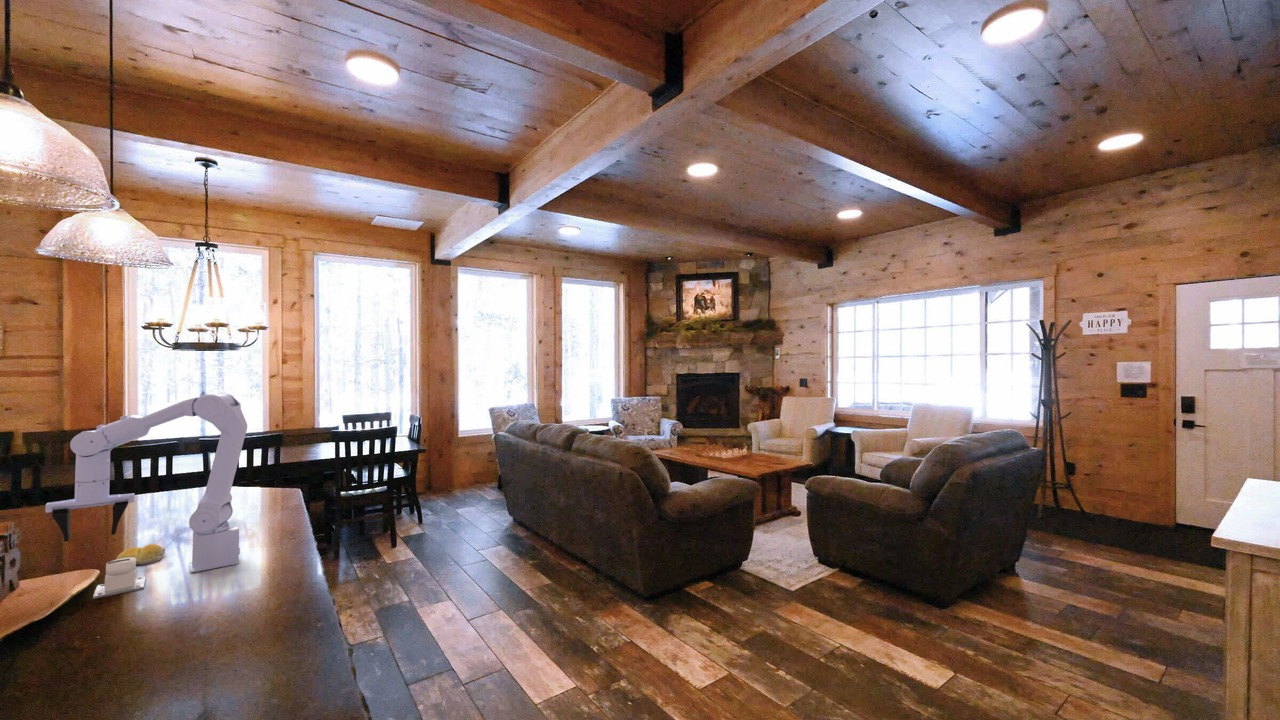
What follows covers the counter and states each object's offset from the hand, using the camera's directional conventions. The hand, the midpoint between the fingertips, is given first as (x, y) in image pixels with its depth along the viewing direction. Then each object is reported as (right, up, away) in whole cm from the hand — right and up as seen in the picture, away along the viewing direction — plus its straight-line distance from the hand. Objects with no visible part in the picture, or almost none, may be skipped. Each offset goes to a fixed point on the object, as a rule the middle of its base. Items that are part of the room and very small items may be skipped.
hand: (90, 536), depth 123 cm
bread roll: (+1, -11, +11) cm, 16 cm away
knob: (+13, -9, -5) cm, 17 cm away
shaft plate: (+13, -10, -6) cm, 17 cm away
